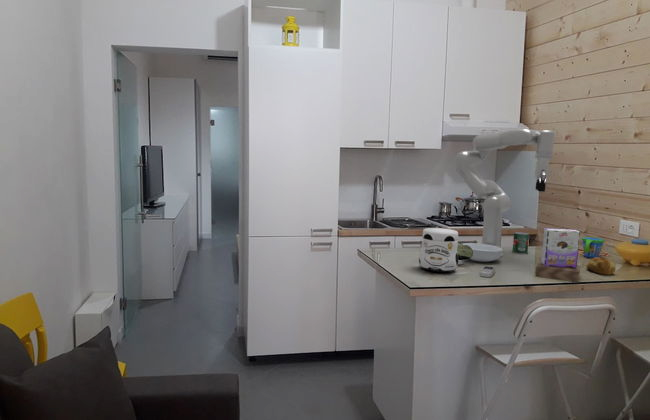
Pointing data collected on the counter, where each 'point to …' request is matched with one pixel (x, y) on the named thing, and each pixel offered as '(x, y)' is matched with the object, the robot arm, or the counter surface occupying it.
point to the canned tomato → (520, 243)
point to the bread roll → (601, 266)
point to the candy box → (560, 247)
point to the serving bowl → (484, 252)
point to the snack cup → (592, 246)
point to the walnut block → (558, 272)
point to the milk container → (439, 250)
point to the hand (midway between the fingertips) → (540, 190)
